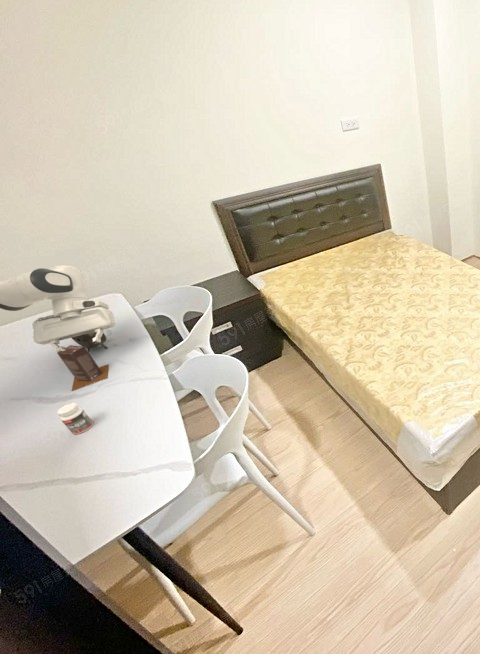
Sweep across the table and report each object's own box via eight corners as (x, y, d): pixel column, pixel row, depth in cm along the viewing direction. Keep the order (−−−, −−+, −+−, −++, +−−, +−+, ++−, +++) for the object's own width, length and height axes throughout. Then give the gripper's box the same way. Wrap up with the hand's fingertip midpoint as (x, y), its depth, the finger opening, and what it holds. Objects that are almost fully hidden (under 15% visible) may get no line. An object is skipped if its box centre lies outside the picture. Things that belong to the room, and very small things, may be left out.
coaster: (72, 390, 131) (71, 390, 131) (75, 376, 137) (74, 375, 137) (107, 378, 135) (106, 377, 135) (108, 364, 142) (108, 363, 142)
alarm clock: (113, 346, 151) (90, 311, 143) (98, 355, 146) (73, 319, 138) (92, 342, 153) (68, 308, 145) (77, 351, 149) (51, 316, 141)
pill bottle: (72, 437, 114) (54, 417, 110) (72, 427, 117) (55, 408, 113) (93, 428, 117) (77, 408, 113) (93, 418, 120) (77, 399, 116)
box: (104, 372, 137) (84, 345, 131) (90, 382, 134) (70, 354, 128) (89, 371, 138) (69, 344, 132) (76, 380, 135) (54, 353, 129)
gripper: (24, 317, 131) (31, 357, 128) (104, 299, 139) (111, 335, 136) (38, 321, 136) (45, 359, 134) (113, 303, 145) (121, 339, 142)
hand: (79, 347), depth 135 cm, fingers open, 8 cm apart
